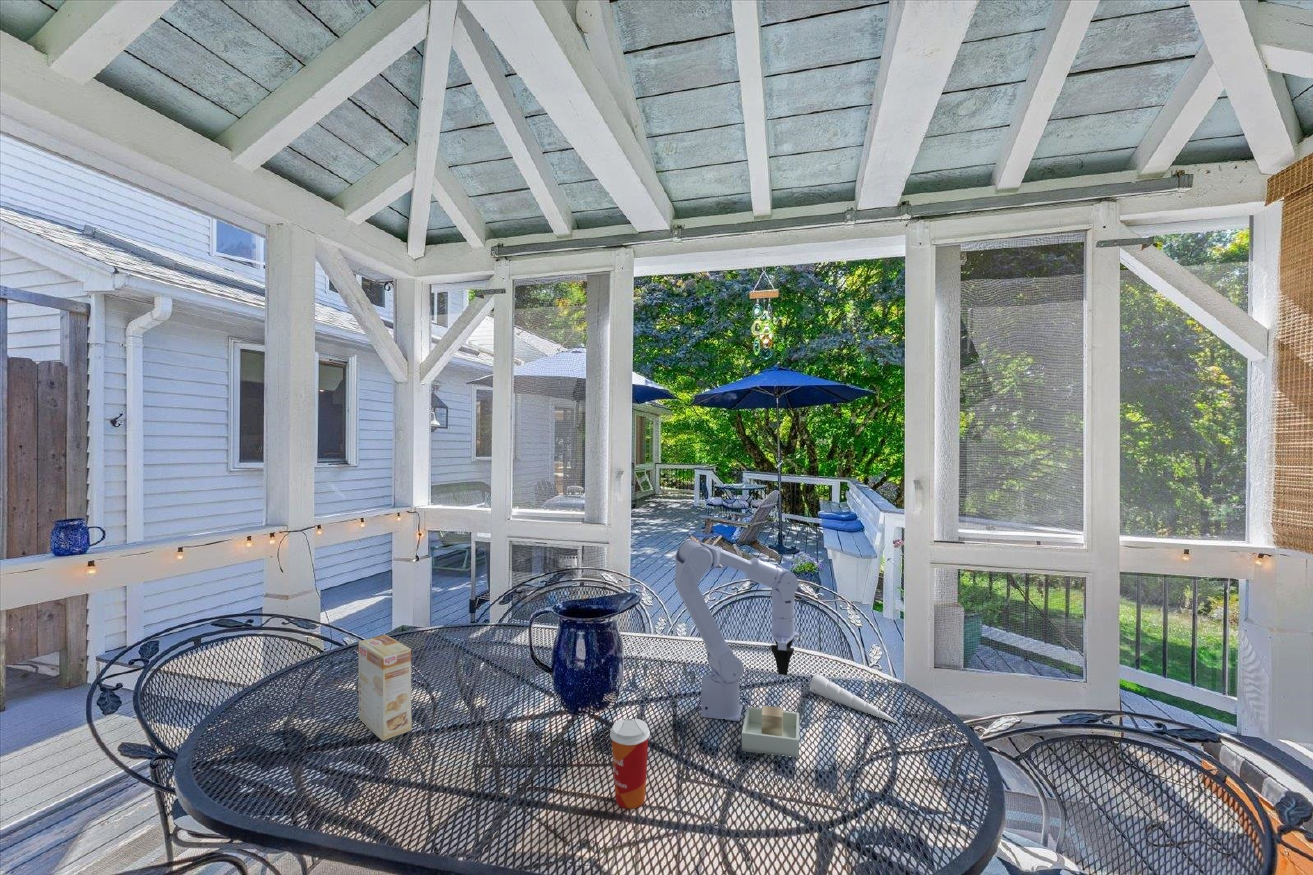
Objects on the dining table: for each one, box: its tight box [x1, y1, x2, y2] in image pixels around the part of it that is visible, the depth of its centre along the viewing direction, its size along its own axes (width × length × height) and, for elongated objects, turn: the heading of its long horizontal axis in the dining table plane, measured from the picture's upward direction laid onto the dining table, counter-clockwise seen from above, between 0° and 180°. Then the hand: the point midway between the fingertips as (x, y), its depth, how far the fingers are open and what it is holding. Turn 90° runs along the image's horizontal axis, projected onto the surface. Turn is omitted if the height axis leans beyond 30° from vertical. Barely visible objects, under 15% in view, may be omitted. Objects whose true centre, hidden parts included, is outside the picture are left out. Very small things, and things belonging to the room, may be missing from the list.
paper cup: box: [609, 718, 651, 810], centre depth 108 cm, size 8×8×14 cm
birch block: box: [762, 705, 784, 737], centre depth 128 cm, size 4×4×6 cm
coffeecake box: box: [357, 634, 413, 742], centre depth 136 cm, size 15×7×20 cm, turn 47°
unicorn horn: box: [809, 674, 900, 725], centre depth 144 cm, size 5×24×5 cm, turn 37°
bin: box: [741, 706, 800, 759], centre depth 128 cm, size 12×12×4 cm
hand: (783, 667), depth 145 cm, fingers open, 7 cm apart
